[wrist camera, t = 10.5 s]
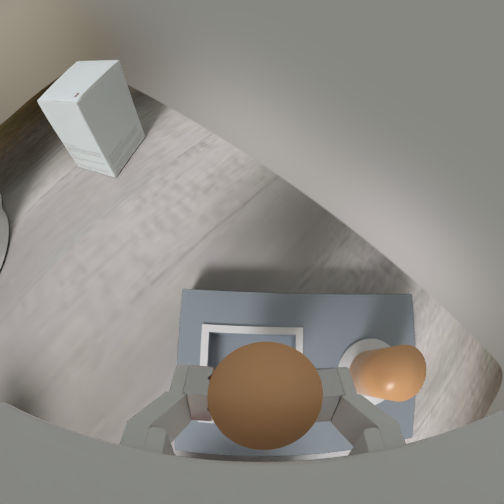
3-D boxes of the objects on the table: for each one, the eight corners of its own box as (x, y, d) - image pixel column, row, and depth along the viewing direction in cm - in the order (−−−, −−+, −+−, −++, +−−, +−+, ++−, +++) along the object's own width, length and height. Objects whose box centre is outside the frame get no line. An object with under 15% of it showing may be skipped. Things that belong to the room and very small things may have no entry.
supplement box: (147, 136, 34) (122, 58, 22) (116, 179, 32) (74, 103, 20) (107, 127, 35) (77, 59, 23) (76, 167, 32) (34, 100, 21)
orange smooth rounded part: (223, 409, 17) (206, 447, 8) (225, 350, 18) (209, 339, 10) (285, 410, 17) (320, 447, 8) (287, 352, 18) (323, 341, 10)
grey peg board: (181, 441, 22) (155, 473, 14) (188, 296, 27) (165, 265, 19) (397, 432, 22) (450, 449, 14) (397, 300, 27) (448, 275, 19)
